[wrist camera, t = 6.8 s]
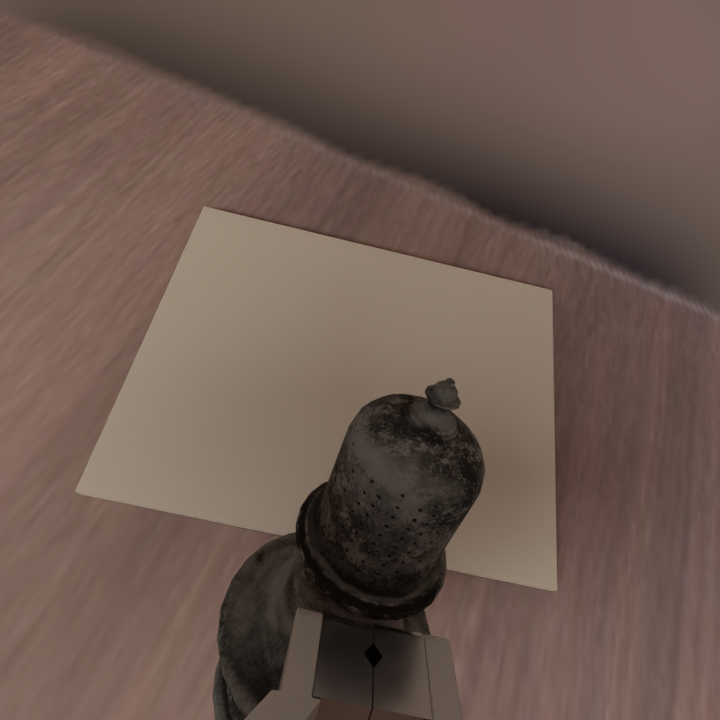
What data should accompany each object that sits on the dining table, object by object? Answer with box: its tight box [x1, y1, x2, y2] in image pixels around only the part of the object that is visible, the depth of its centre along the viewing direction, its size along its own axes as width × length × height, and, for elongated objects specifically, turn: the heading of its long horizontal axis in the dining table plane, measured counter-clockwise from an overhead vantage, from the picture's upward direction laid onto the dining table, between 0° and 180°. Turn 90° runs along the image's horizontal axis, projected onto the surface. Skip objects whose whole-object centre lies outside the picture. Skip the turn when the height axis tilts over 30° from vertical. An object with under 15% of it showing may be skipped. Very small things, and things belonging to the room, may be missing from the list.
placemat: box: [75, 206, 557, 591], centre depth 20 cm, size 18×14×1 cm
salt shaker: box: [213, 378, 485, 720], centre depth 11 cm, size 6×6×12 cm
